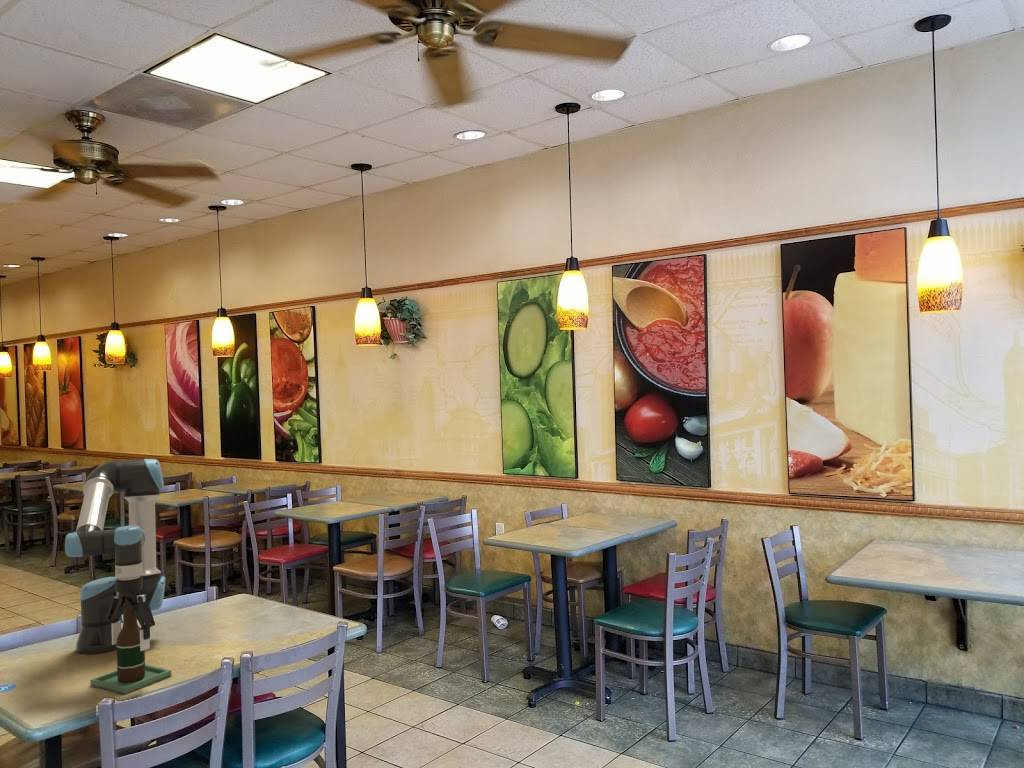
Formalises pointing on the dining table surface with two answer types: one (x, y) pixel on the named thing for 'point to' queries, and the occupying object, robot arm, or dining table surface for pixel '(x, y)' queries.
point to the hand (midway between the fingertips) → (130, 646)
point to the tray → (114, 685)
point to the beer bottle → (130, 650)
